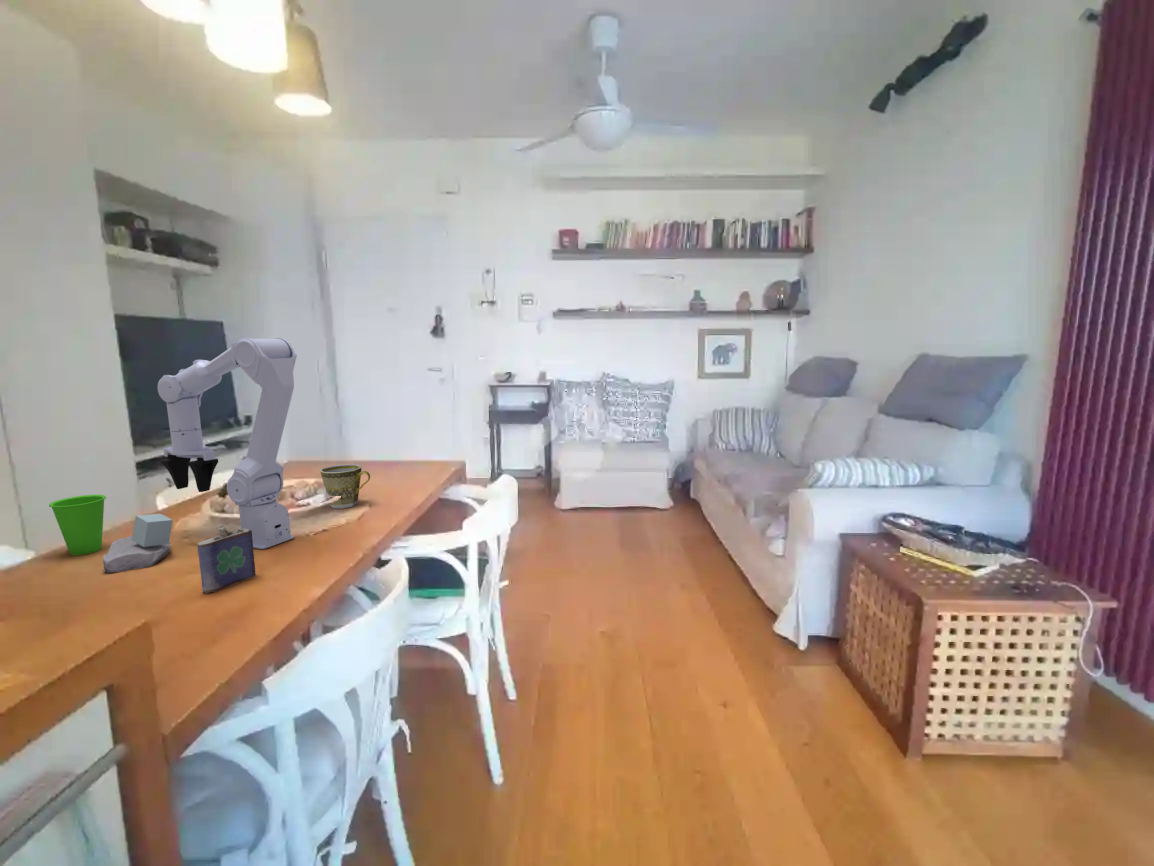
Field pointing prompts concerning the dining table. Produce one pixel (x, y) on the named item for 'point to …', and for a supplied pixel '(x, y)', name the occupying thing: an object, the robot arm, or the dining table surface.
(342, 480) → the ceramic cup
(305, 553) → the dining table surface
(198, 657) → the dining table surface
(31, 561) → the dining table surface
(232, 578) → the flask
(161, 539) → the cube
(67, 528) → the cup
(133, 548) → the stone block
